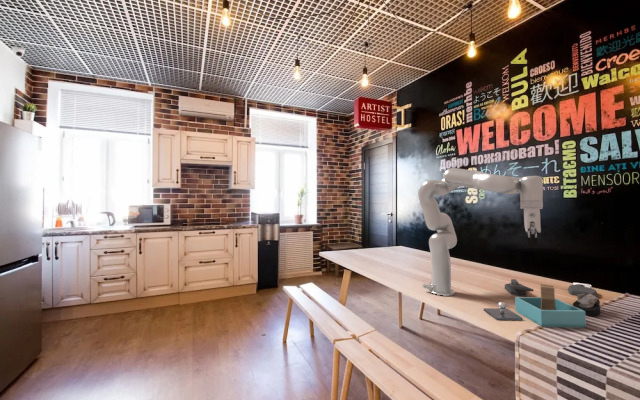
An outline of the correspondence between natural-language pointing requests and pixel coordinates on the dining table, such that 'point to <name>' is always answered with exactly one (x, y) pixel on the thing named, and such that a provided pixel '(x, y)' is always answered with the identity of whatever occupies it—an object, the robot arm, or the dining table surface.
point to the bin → (550, 313)
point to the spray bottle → (580, 289)
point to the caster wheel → (588, 304)
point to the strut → (547, 298)
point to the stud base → (502, 313)
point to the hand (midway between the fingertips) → (531, 245)
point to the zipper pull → (517, 288)
